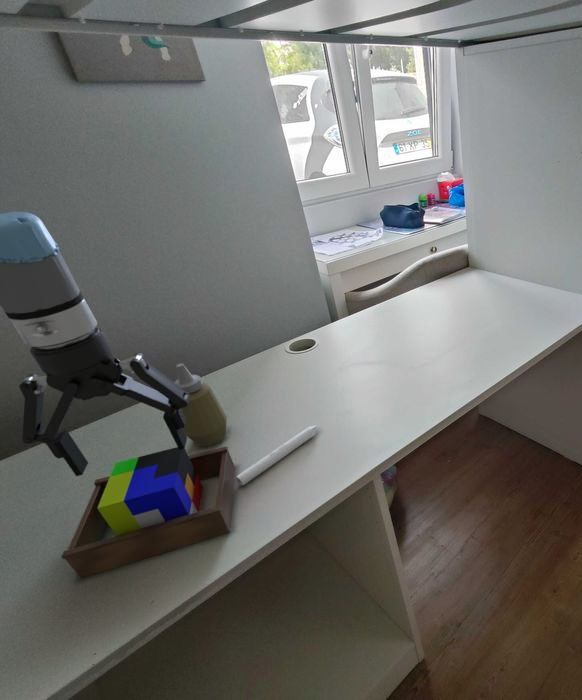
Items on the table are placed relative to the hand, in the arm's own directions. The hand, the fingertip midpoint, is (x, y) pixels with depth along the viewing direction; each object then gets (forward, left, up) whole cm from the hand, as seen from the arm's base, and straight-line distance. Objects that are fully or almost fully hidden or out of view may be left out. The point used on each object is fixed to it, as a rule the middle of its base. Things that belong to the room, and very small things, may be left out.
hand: (134, 456), depth 69 cm
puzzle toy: (0, 0, -14) cm, 14 cm away
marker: (+19, +8, -14) cm, 25 cm away
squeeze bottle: (+5, +20, -14) cm, 25 cm away
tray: (0, 0, -14) cm, 14 cm away
